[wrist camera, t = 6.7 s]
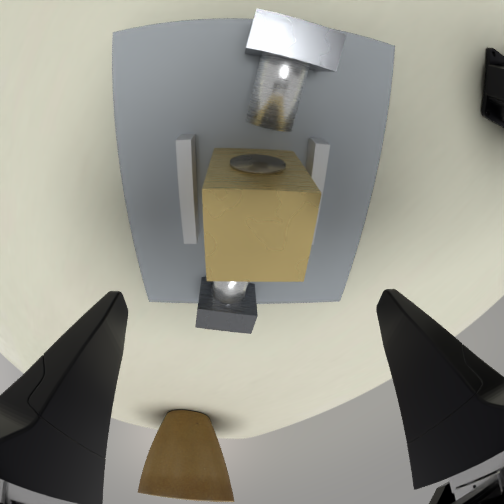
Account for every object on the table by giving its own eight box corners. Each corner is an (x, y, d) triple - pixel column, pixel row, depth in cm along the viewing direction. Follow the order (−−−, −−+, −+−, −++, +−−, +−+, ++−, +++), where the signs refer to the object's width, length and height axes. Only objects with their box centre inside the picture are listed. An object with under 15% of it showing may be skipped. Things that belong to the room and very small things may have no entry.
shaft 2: (300, 129, 14) (315, 143, 12) (230, 114, 14) (228, 124, 11) (325, 41, 11) (346, 34, 9) (252, 21, 11) (256, 8, 8)
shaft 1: (207, 236, 18) (203, 266, 16) (266, 245, 19) (271, 276, 16) (199, 295, 21) (195, 327, 19) (249, 301, 22) (251, 333, 20)
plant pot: (135, 413, 41) (126, 490, 28) (168, 392, 35) (159, 495, 22) (203, 433, 47) (203, 502, 34) (249, 415, 41) (254, 502, 28)
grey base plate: (385, 46, 12) (408, 45, 10) (336, 291, 24) (344, 314, 21) (120, 34, 11) (101, 29, 9) (152, 291, 23) (145, 315, 20)
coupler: (285, 220, 18) (303, 283, 13) (214, 219, 18) (206, 283, 13) (293, 148, 15) (322, 189, 10) (214, 145, 15) (202, 185, 10)
